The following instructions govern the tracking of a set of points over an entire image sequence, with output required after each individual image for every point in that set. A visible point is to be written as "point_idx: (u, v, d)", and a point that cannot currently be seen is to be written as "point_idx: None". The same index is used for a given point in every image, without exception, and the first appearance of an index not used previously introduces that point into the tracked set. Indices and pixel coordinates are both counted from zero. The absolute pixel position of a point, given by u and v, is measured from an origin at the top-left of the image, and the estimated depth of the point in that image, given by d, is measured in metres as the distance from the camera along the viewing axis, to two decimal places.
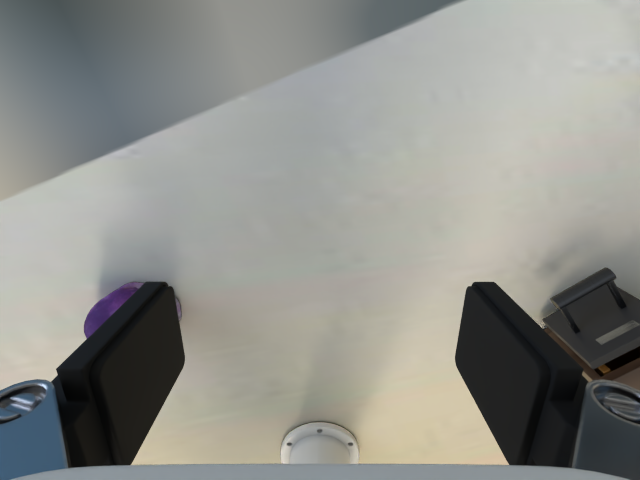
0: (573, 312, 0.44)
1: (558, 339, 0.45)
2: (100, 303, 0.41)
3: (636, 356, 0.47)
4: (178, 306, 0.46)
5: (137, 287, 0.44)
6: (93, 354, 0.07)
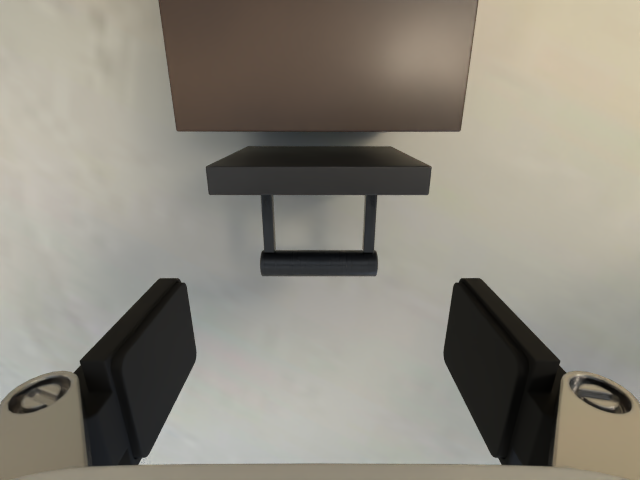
0: None
1: None
2: None
3: None
4: None
5: None
6: (114, 347, 0.07)
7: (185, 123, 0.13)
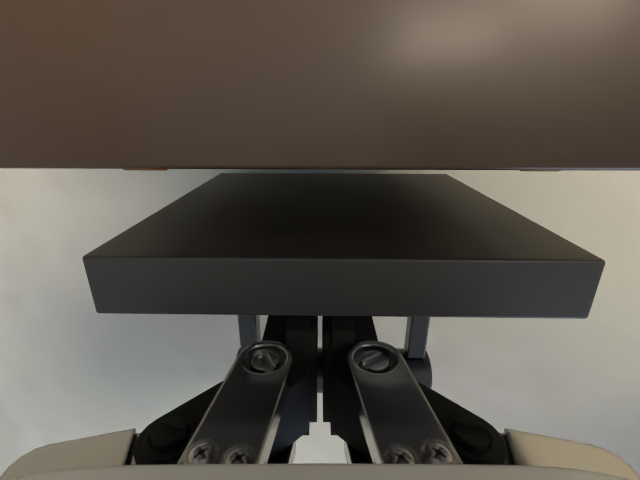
0: None
1: None
2: None
3: None
4: None
5: None
6: (306, 320, 0.08)
7: None
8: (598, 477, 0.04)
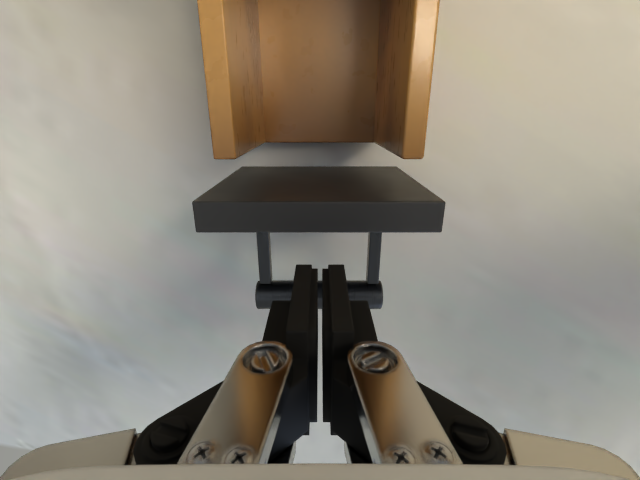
0: None
1: None
2: None
3: None
4: None
5: None
6: (306, 320, 0.08)
7: None
8: (598, 477, 0.04)
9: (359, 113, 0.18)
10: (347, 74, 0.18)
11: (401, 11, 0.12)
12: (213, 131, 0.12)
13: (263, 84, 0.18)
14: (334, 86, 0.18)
